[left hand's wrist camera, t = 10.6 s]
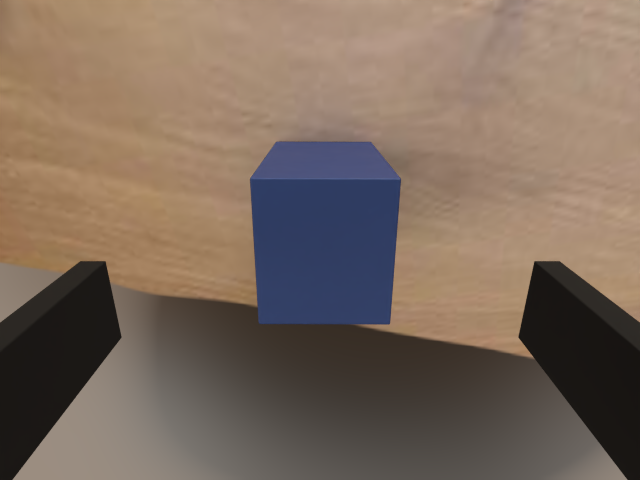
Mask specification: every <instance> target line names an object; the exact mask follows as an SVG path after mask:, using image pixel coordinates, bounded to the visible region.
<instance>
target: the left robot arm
mask: <svg viewBox="0 0 640 480" xmlns="http://www.w3.org/2000/svg"><path fill="white" fill-rule="evenodd" d="M120 339H121V333H120V328H119V323H118V318H117V314H116V309H115V304H114V299H113V295H112V290H111V285H110V280H109V276H108V271H107V266H106V262H105V261H80V262H79V263H78V264H76V265H75V266H74V267H72V268H71V269H70V270H68V271H67V272H66V273H65V274H63V275H62V276H61V277H59V278H58V279H57V280H55V281H54V282H53V283H51V284H50V285H49V286H48V287H46V288H45V289H44V290H42V291H41V292H40V293H38V294H37V295H36V296H34V297H33V298H32V299H31V300H29V301H28V302H27V303H25V304H24V305H23V306H21V307H20V308H19V309H17V310H16V311H15V312H14V313H12V314H11V315H10V316H8V317H7V318H6V319H4V320H3V321H2V322H0V480H13V478H14V477H15V476H16V474H17V473H18V472H19V470H20V469H21V468H22V467H23V465H24V464H25V463H26V461H27V460H28V459H29V457H30V456H31V455H32V453H33V452H34V451H35V450H36V448H37V447H38V446H39V444H40V443H41V442H42V440H43V439H44V438H45V437H46V435H47V434H48V433H49V431H50V430H51V429H52V427H53V426H54V425H55V423H56V422H57V421H58V420H59V418H60V417H61V416H62V414H63V413H64V412H65V410H66V409H67V408H68V407H69V405H70V404H71V403H72V401H73V400H74V399H75V397H76V396H77V395H78V393H79V392H80V391H81V390H82V388H83V387H84V386H85V384H86V383H87V382H88V380H89V379H90V378H91V376H92V375H93V374H94V372H95V371H96V370H97V369H98V367H99V366H100V365H101V363H102V362H103V361H104V359H105V358H106V357H107V356H108V354H109V353H110V352H111V350H112V349H113V348H114V346H115V345H116V344H117V343H118V341H119V340H120ZM519 339H520V340H521V341H522V343H523V344H524V345H525V346H526V348H527V349H528V350H529V352H530V353H531V354H532V356H533V357H534V358H535V360H536V361H537V362H538V363H539V365H540V366H541V367H542V369H543V370H544V371H545V373H546V374H547V375H548V376H549V378H550V379H551V380H552V382H553V383H554V384H555V386H556V387H557V388H558V389H559V391H560V392H561V393H562V395H563V396H564V397H565V399H566V400H567V401H568V403H569V404H570V405H571V407H572V408H573V409H574V410H575V412H576V413H577V414H578V416H579V417H580V418H581V419H582V421H583V422H584V423H585V425H586V426H587V427H588V429H589V430H590V431H591V433H592V434H593V435H594V436H595V438H596V439H597V440H598V442H599V443H600V444H601V446H602V447H603V448H604V450H605V451H606V452H607V453H608V455H609V456H610V457H611V459H612V460H613V461H614V463H615V464H616V465H617V466H618V468H619V469H620V470H621V472H622V473H623V474H624V476H625V477H626V478H627V480H640V322H638V321H637V320H636V319H634V318H633V317H632V316H630V315H629V314H628V313H626V312H625V311H624V310H623V309H621V308H620V307H619V306H617V305H616V304H615V303H613V302H612V301H611V300H609V299H608V298H607V297H606V296H604V295H603V294H602V293H600V292H599V291H598V290H596V289H595V288H594V287H592V286H591V285H590V284H589V283H587V282H586V281H585V280H583V279H582V278H581V277H579V276H578V275H577V274H575V273H574V272H573V271H572V270H570V269H569V268H568V267H566V266H565V265H564V264H562V263H561V262H560V261H535V262H534V266H533V271H532V276H531V280H530V285H529V290H528V295H527V299H526V304H525V309H524V314H523V318H522V323H521V328H520V333H519Z"/></svg>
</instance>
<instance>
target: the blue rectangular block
mask: <svg viewBox="0 0 640 480" xmlns="http://www.w3.org/2000/svg"><path fill="white" fill-rule="evenodd" d="M400 185H401V179H400V177H399V176H398V175H397V174H396V172H395V171H394V170H393V169H392V167H391V166H390V165H389V164H388V162H387V161H386V160H385V159H384V158H383V156H382V155H381V154H380V153H379V151H378V150H377V149H376V148H375V146H374V145H373V144H372V143H371V142H276V143H275V144H274V146H273V147H272V149H271V150H270V151H269V153H268V154H267V156H266V157H265V158H264V160H263V161H262V163H261V164H260V165H259V167H258V168H257V170H256V171H255V172H254V174H253V175H252V177H251V178H250V186H251V203H252V219H253V236H254V252H255V269H256V285H257V302H258V318H259V324H390V317H391V304H392V291H393V278H394V264H395V251H396V238H397V225H398V211H399V198H400Z"/></svg>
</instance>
